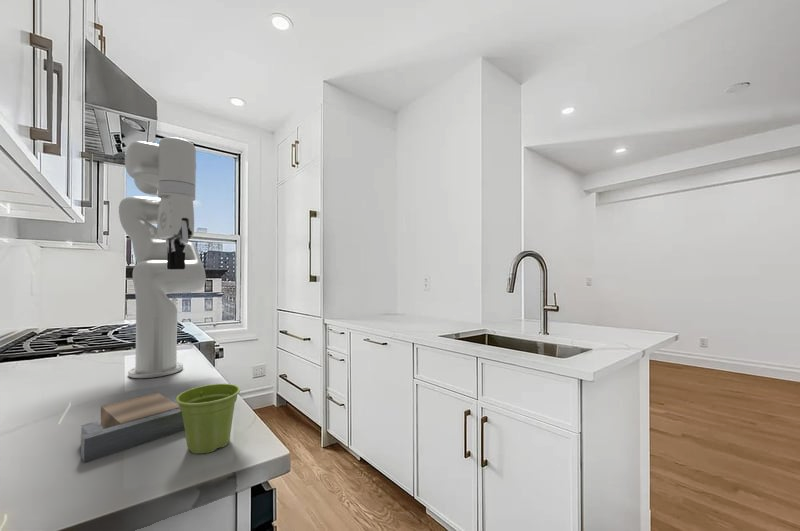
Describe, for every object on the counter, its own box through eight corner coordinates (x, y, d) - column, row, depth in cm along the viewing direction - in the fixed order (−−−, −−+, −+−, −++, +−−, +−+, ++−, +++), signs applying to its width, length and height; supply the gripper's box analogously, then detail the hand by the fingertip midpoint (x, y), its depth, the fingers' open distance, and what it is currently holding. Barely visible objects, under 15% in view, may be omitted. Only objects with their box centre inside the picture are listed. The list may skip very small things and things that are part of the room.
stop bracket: (73, 445, 57) (73, 424, 57) (202, 408, 73) (202, 391, 73) (84, 462, 52) (84, 439, 52) (220, 418, 68) (220, 400, 68)
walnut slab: (100, 427, 65) (101, 406, 65) (156, 412, 72) (157, 392, 72) (120, 448, 57) (120, 423, 57) (181, 428, 64) (181, 406, 64)
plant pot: (163, 463, 52) (164, 405, 52) (188, 434, 61) (189, 384, 61) (231, 457, 54) (231, 401, 54) (245, 429, 63) (246, 381, 63)
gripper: (147, 193, 84) (146, 269, 84) (171, 184, 75) (170, 269, 75) (182, 198, 90) (181, 269, 90) (207, 190, 81) (206, 269, 81)
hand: (176, 269), depth 82 cm, fingers closed
